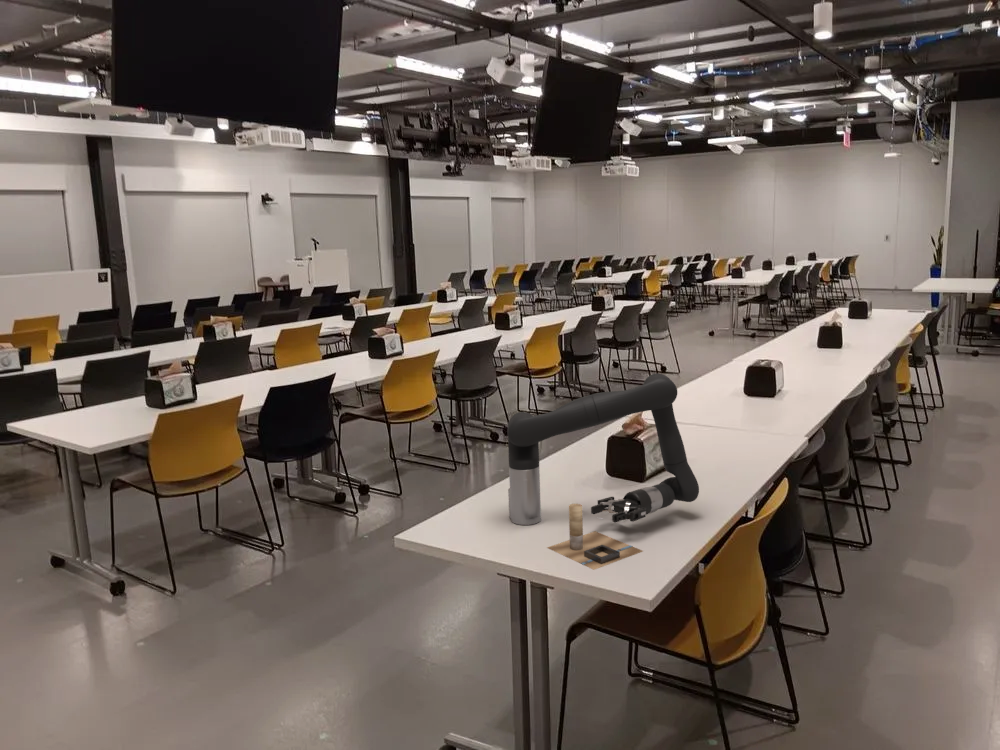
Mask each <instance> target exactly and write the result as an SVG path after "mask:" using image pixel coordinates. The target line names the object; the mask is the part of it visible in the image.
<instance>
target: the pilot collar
mask: <svg viewBox="0 0 1000 750" xmlns="http://www.w3.org/2000/svg"><path fill="white" fill-rule="evenodd" d="M600 552H604V553H607V554H608V555H606V556H603V557H600V556H598V555H596V554H597V553H600ZM584 557H587V558H589V559H591V560H593V561H595V562H598V563H600V564H603V563H606V562H609V561H611V560H614V559H617V558H619V557H620V552H618V551H616V550H614V549H611V548H609V547H607V546H604V545H600V546H597V547H594V548H591V549H589V550H586V551H584Z"/></svg>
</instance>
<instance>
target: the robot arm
mask: <svg viewBox="0 0 1000 750" xmlns="http://www.w3.org/2000/svg"><path fill="white" fill-rule="evenodd" d="M677 397H678V388H677V385H676V384H675V382H673V380H672V379H671V378H670V377H668V376H667V375H665V374H663V373H656V372H655V373H652V374H650V375H649V376H647V377H646V378H645V380H644V382H643V384H642V385H638V386H636V387H633V388H630V389H625V390H617V391H616V390H615V391H602V392H597V393H592V394H589V395H585V396H582V397H579V398H576V399H573V400H571V401H569V402H567V403H565V404H564V405H562V406H559V407H558V408H556V409H554V410H551V411H549V412H545V413H542V414H538V415H537V414H536V415H533V414H531V413H529V412H525V411H520V412H516V413H514V414H513V415H512V416H511V417H510V418H509V420H508V423H507V430H506V432H507V433H506V434H507V439H508V440H507V442H508V443H507V444H508V448H507V449H508V451H507V452H508V473H509V474H508V476H509V479H508V480H509V488H508V489H507V490H508V492H507V493H508V515H509V516H508V518H509V519H510V522H512V523H513V524H516V525H520V526H521V525H522V526H528V525H529V526H531V525H534V524H537V523H540V522H541V520H542V509H541V506H542V505H541V479H540V477H541V474H540V446H539V445H540V442H542V441H544V440H547V439H550V438H553V437H556V436H558V435H559V436H560V435H563V434H568V433H572V432H577V431H581V430H584V429H588V428H589V429H590V428H592V427H596V426H599V425H602V424H606V423H609V422H612V421H615V420H619V419H621V418H624V417H627V416H630V415H633V414H636V413H643V412H648V411H650V412H651V415H652V419H653V422H654V425H655V429H656V433H657V438H658V439H657V440H658V444H659V448H660V453H661V458H662V463H663V467H664V470H665V471H666V472H667V473H670V474H672V475H673V476H672V477H668V478H665V479H664V480H662V481H660V483H657V484H654V485H652V486H645V487H642V488H639V489H636V490H632V491H629V492H627V493H626V494H625V495H624V497H623V498H618V499H615V497H614V496H608V497H605V498H602V499H599V500H598V499H597V504H596V505H593V506H591V507H590V513H591V514H592V515H596V514H600V513H602V512H608V514H609V513H610V514H612V515H611V521H612V522H613V523H618V522H621V521H629V522H632V523H633V522H635V521H638V520H642V519H643V518H646V516H647V515H649V514H652V513H655V512H656V511H658V510H662V509H664V508H667V507H669V506H671V505H672V504H673V503H674V501H678V502H685V503H692V502H694V501H696V500H697V498H698V497H699V493H700V486H699V483H698V480H697V477H696V476H695V474H694V472H693V469H692V468H691V466H690V464H689V462H688V457H687V453H686V450H685V446H684V441H683V439H682V435H681V433H680V429H679V427H678V424H677V421H676V417H675V416H676V415H675V413H674V407H673V403H674V402H675V401H676V399H677ZM612 507H613V509H612Z"/></svg>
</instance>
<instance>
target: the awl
mask: <svg viewBox="0 0 1000 750" xmlns="http://www.w3.org/2000/svg"><path fill="white" fill-rule="evenodd" d="M568 519H569V521H568V524H569V525H568V526H569V527H568V528H569V529H568V530H569V531H568V532H569V540H570V549H571V550H582V549H583V535H584V531H583V530H584V529H583V528H584V527H583V526H584V525H583V523H584V521H583V505H582V504H580V503H571V504H569V505H568Z"/></svg>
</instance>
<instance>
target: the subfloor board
mask: <svg viewBox="0 0 1000 750" xmlns="http://www.w3.org/2000/svg"><path fill="white" fill-rule="evenodd" d="M600 545H604V546H607V547H609V548H611V549H614V550H616V551H618V552H620V557H619V558H617V559H614V560H611V561H609V562H606V563H603V564H600V563H598V562H595V561H593V560H591V559H589V558H587V557H584V551H586V550H589V549H591V548H594V547H597V546H600ZM546 549H549V550H551V551H553V552H555V553H557V554H559V555H561V556H563V557H566V558H567V559H570V560H572V561H574V562H576V563H579V564H581V565H583V566H585V567H588V568H589V569H591V570H594V571H595V570H597V569H601V568H603V567H605V566H606V567H607V566H608V565H611V564H613V563H616V562H618V561H621V560H625V559H626V558H629V557H632V556H635V555H637V554H640V553H642V552H644V550H642V549H640V548H637V547H635V546H633V545H631V544H627V543H625V542H623V541H620V540H618V539H615V538H613V537H610V536H608V535H606V534H603V533H600V532H598V531H596V530H595V531H592V532H589V533H586V534H583V549H582V550H571V549H570V539H568V540H565V541H563V542H560V543H556V544H554V545H551V546H547V547H546ZM596 555H598V556H600V557H603V556H606V555H608V554H607V553H604V552H600V553H597V554H596Z"/></svg>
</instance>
